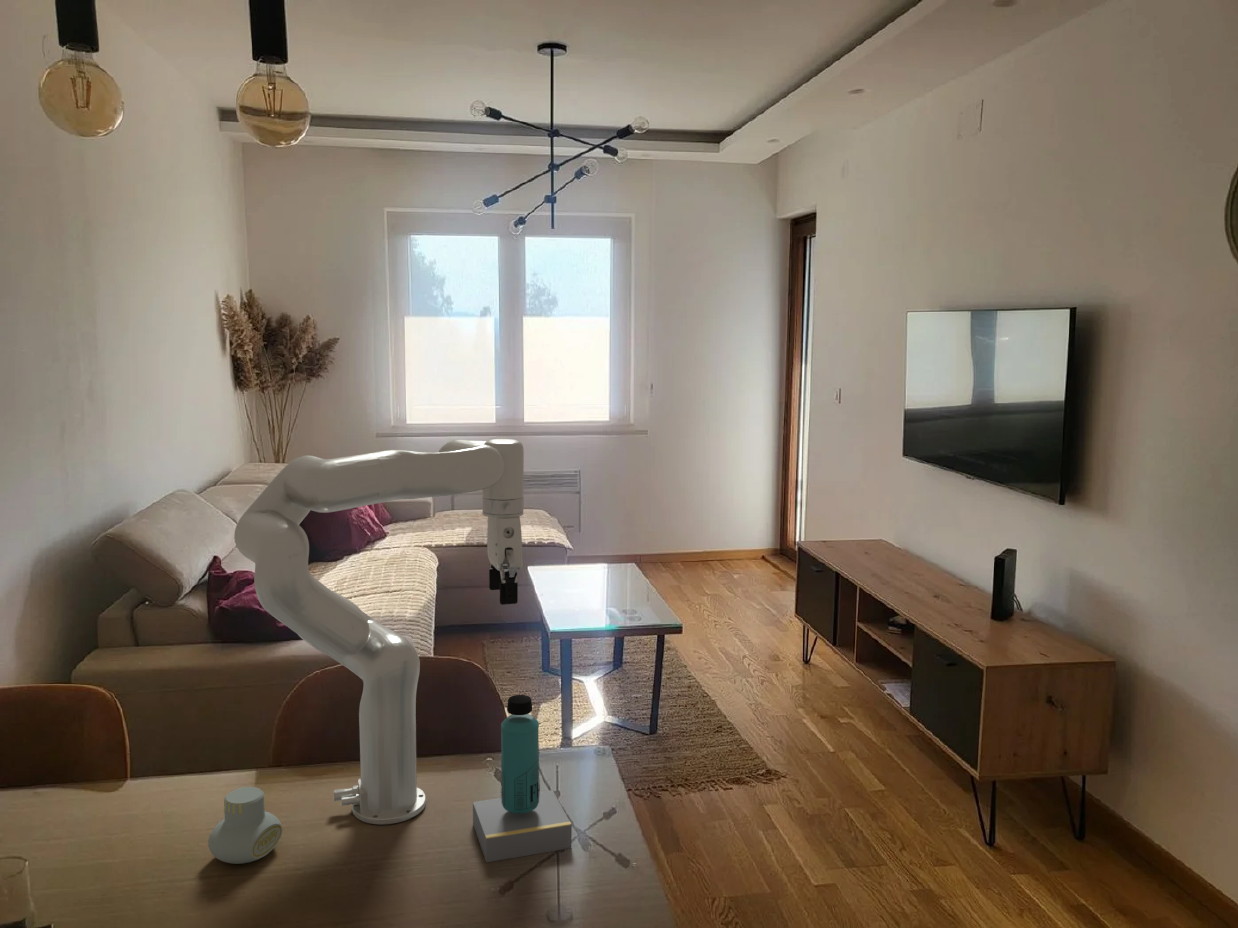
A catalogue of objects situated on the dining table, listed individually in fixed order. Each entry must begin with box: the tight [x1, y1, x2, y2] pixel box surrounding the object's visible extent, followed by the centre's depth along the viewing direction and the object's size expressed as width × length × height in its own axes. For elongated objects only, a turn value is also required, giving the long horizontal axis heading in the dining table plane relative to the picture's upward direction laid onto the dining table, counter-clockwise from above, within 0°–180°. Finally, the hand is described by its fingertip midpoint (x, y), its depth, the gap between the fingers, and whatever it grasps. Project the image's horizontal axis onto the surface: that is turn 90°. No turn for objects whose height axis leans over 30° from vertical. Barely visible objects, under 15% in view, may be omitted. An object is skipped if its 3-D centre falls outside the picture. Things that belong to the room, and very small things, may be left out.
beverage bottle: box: [499, 694, 541, 813], centre depth 151 cm, size 6×7×20 cm
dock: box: [472, 789, 573, 863], centre depth 153 cm, size 14×12×4 cm
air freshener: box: [207, 786, 283, 865], centre depth 146 cm, size 11×8×10 cm
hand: (503, 596), depth 171 cm, fingers open, 9 cm apart
